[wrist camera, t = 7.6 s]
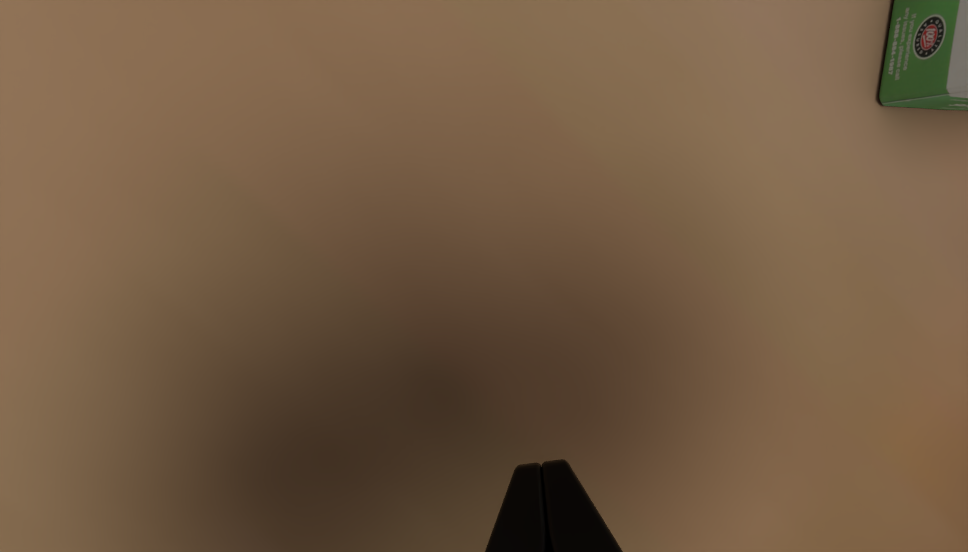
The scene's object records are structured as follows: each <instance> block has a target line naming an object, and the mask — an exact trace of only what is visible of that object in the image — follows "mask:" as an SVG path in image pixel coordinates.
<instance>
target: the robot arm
mask: <svg viewBox="0 0 968 552" xmlns="http://www.w3.org/2000/svg"><path fill="white" fill-rule="evenodd" d="M485 552H623V551H622V550H621V548H620V546H619V545H618V543H617V542H616V540H615V538H614V537H613V535H612V533H611V532H610V530H609V529H608V527H607V525H606V524H605V522H604V520H603V519H602V517H601V515H600V514H599V512H598V511H597V509H596V507H595V506H594V504H593V502H592V501H591V499H590V498H589V496H588V494H587V493H586V491H585V489H584V488H583V486H582V485H581V483H580V481H579V480H578V478H577V476H576V475H575V473H574V472H573V470H572V468H571V467H570V465H569V464H568V462H567V461H566V460H563V459H561V460H553V461H546V462H544V463H543V464H542V467H541V465H540V464H539V463H530V464H523V465H518V466H517V467H516V468H515V470H514V473H513V475H512V478H511V481H510V484H509V486H508V489H507V492H506V495H505V498H504V500H503V503H502V506H501V509H500V512H499V514H498V517H497V520H496V523H495V525H494V528H493V531H492V534H491V537H490V539H489V542H488V545H487V548H486V550H485Z"/></svg>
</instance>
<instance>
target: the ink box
mask: <svg viewBox="0 0 968 552" xmlns="http://www.w3.org/2000/svg"><path fill="white" fill-rule="evenodd" d="M879 99H880V101H881V103H882V105H884V106H897V107H912V108H928V109H943V110H968V0H894V5H893V11H892V17H891V24H890V30H889V37H888V44H887V50H886V55H885V62H884V69H883V75H882V81H881V87H880V94H879Z"/></svg>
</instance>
